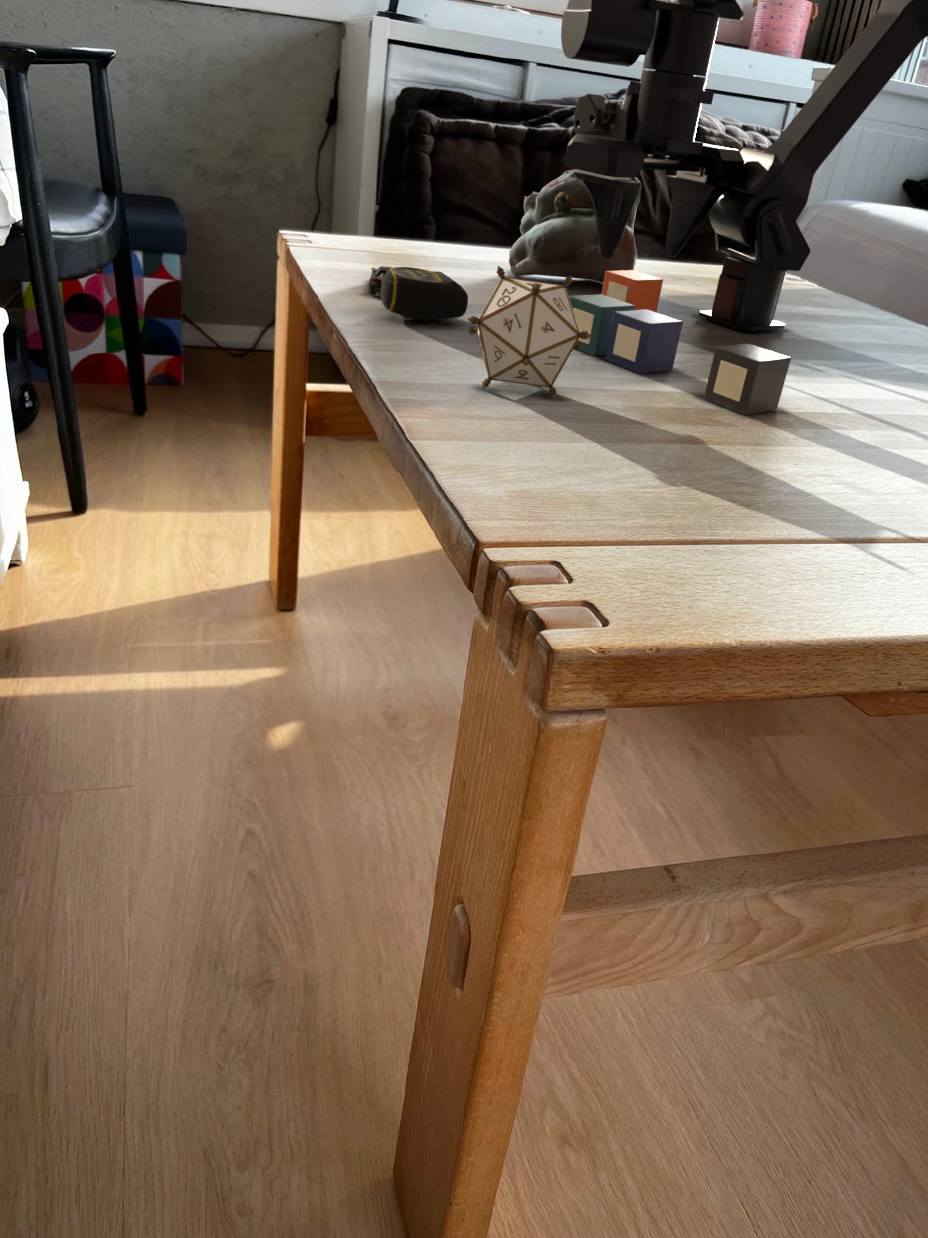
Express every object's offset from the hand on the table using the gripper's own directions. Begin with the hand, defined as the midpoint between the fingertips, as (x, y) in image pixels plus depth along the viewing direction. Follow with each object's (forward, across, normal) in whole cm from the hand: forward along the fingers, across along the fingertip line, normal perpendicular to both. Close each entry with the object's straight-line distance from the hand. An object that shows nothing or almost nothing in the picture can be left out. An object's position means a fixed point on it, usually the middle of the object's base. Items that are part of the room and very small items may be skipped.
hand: (639, 257), depth 98 cm
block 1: (+6, +13, +8) cm, 16 cm away
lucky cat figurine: (+6, -6, -15) cm, 17 cm away
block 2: (+6, +13, +13) cm, 19 cm away
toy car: (+6, +19, -14) cm, 24 cm away
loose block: (+6, 0, 0) cm, 6 cm away
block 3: (+6, +13, +24) cm, 28 cm away
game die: (+6, +28, +15) cm, 32 cm away
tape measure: (+6, +22, -4) cm, 23 cm away
